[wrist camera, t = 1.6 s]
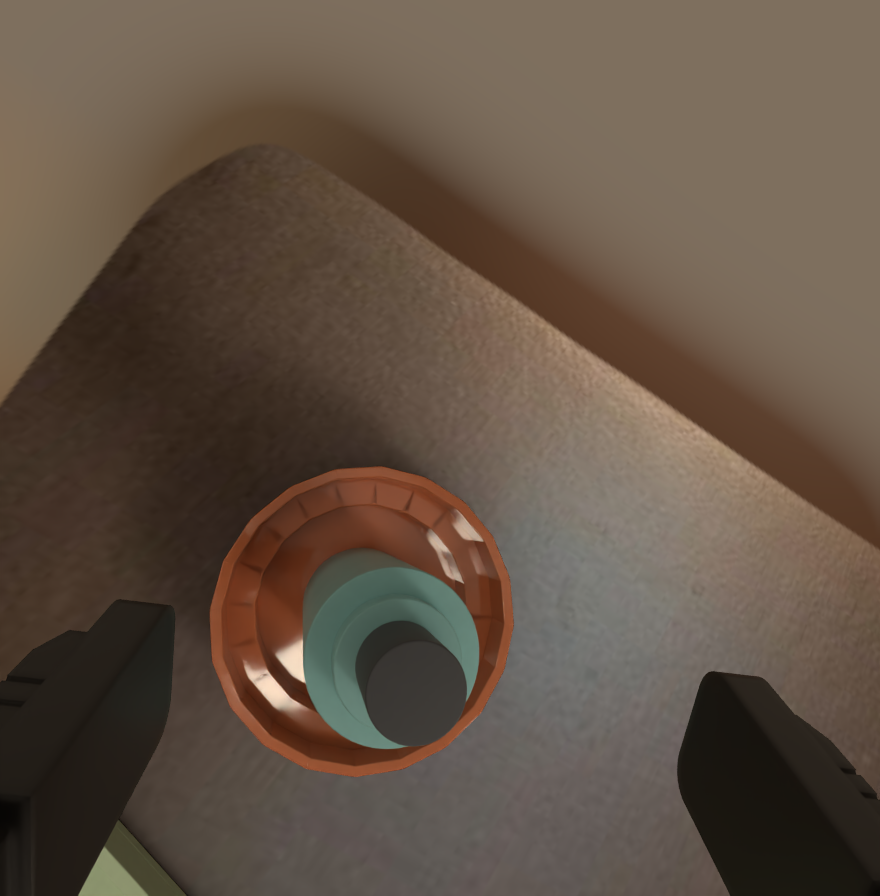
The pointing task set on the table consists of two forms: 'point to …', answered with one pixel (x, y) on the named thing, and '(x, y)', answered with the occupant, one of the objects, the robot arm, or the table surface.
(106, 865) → the tray
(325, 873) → the table surface
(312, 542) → the bowl
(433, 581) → the bottle
